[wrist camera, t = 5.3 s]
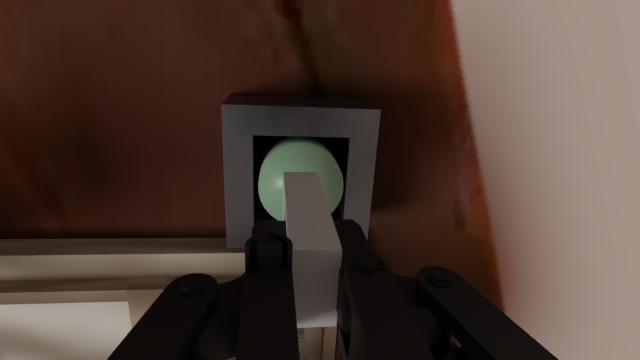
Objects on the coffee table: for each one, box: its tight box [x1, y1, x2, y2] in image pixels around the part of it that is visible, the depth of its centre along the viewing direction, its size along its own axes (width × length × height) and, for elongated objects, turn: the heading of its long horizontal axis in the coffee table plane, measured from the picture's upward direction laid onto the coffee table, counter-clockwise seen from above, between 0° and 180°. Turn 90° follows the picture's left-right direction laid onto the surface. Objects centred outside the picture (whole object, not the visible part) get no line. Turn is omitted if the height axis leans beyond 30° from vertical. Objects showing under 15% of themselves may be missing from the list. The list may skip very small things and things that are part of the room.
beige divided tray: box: [0, 238, 338, 360], centre depth 26 cm, size 15×24×3 cm, turn 87°
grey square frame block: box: [221, 94, 381, 248], centre depth 22 cm, size 8×8×4 cm
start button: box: [258, 136, 343, 221], centre depth 21 cm, size 4×4×3 cm
